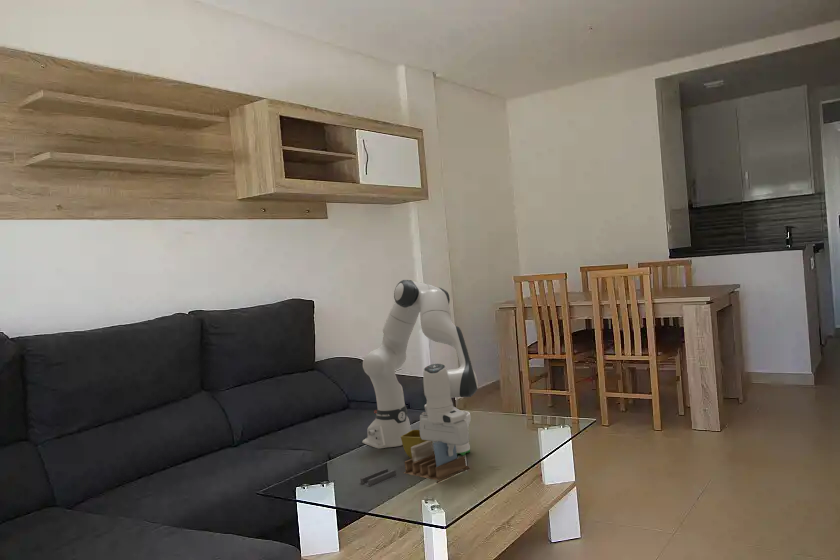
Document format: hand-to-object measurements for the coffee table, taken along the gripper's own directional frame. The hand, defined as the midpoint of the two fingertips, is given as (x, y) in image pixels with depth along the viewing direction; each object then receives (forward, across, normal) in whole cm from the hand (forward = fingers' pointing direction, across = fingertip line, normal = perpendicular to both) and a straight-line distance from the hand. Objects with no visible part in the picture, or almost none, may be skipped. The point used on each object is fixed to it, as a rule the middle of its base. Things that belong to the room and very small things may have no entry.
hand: (446, 455), depth 223 cm
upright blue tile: (+3, 0, 0) cm, 3 cm away
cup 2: (+7, -13, +19) cm, 24 cm away
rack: (+6, -6, 0) cm, 9 cm away
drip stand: (+6, -17, -16) cm, 24 cm away
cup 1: (+6, -55, +49) cm, 74 cm away
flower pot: (+6, -24, +9) cm, 26 cm away
